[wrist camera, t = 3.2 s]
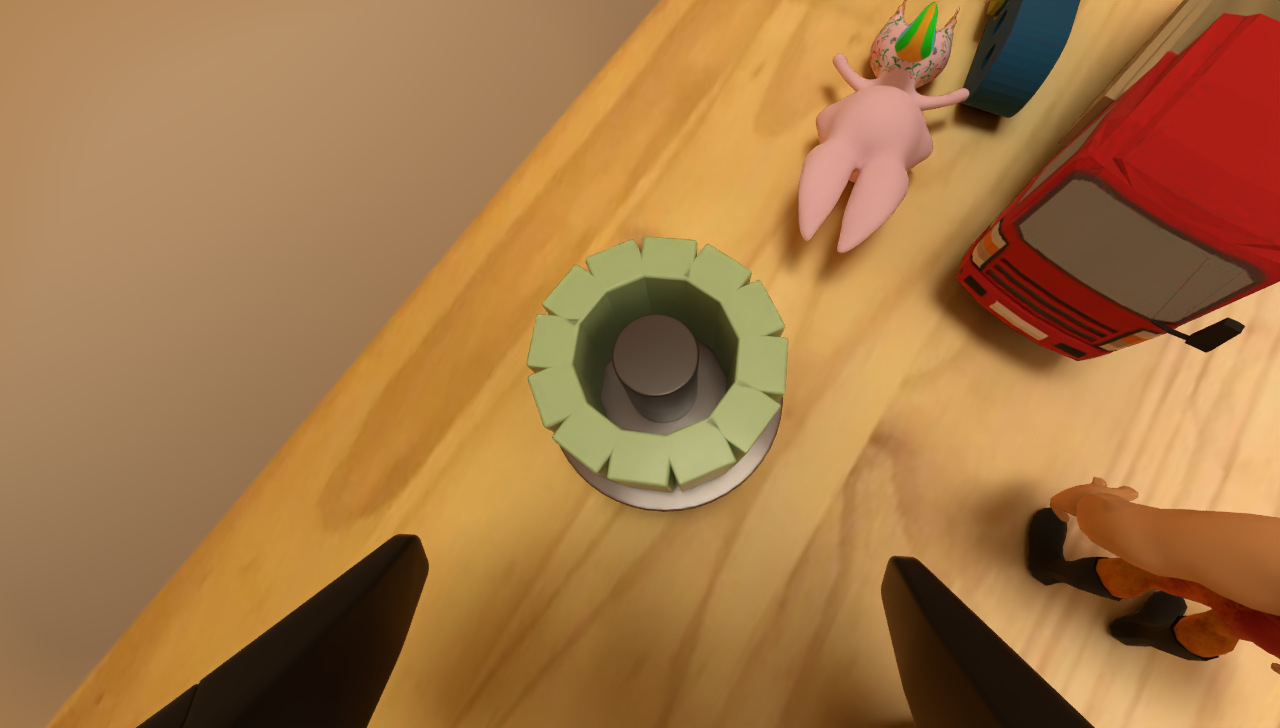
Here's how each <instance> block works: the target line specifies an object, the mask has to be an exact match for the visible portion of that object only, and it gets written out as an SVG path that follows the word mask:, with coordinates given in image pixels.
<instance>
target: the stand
mask: <svg viewBox="0 0 1280 728" xmlns="http://www.w3.org/2000/svg"><path fill="white" fill-rule="evenodd" d="M726 386H727V378H726V376H725V374H724V372H723V370H722V368H721V366H720V364H719V362H718V360H717V357H716V355H715V353H714V351H713V350H712V349H710V348H709V347H707V346H706V345H704V344H703V343H701V342H700V341H699V340H697V339H696V338H695V336H694V334H693V333H692V331H691V330H690V329H689V328H688V327H687V326H686V325H685V324H684V323H683V322H681V321H680V320H678V319H676V318H674V317H671V316H668V315H663V314H650V315H645V316H642V317H639V318H637V319H635V320H633V321H632V322H630V323H629V324H628V325H626V326H625V327H624V328H623V330H622V331H621V332H620V333H619V335H618V337H617V338H616V341H615V343H614V346H613V352H612V359H611V360H610V361H609V362H608V364H607V365H606V366H605V371H604V377H603V383H602V389H601V395H600V399H601V402H602V404H603V407H604V409H605V412H606V415H607V417H608V419H609V420H610V421H612V422H613V423H614V424H615V425H617V426H618V427H619V428H621V429H622V430H630V431H638V432H646V433H654V434H662V435H667V434H670V433H672V432H674V431H677V430H679V429H682V428H684V427H686V426H689V425H691V424H693V423H696V422H698V421H701V420H703V419H705V418H708V417H709V415H710V414H711V413H712V411H713V410H714V409H715V407H716V406H717V405H718V403H719V402H720V401H721V399H722V398H723V397H724V395H725V394H726ZM777 403H779V404H780V405H781V406H780V408H779V410H778V411H777V412H776V414H775V415H774V417H773V418H772V419H771V421H770V422H769V424H768V425H767V426H766V428H765V429H764V431H763V432H762V433H761V435H760V436H759V437H758V439H757V440H756V442H755V443H754V444H753V446H752V447H751V449H750V450H749V451H748V453H747V454H746V455H745V456H744V457H743V458H742V459H741V460H740V461H739V462H738V463H737V464H736V465H735V466H734V467H730V468H729V469H728V471H727V472H726V473H725V474H724V475H721V476H719V477H717V478H714V479H712V480H710V481H707V482H705V483H703V484H700V485H698V486H696V487H693V488H691V489H688V490H686V491H682V490H681V489H680V487H679V485H678V482H677V480H676V477H675V484H674V491H673V492H672V493H668V492H661V491H653V490H646V489H639V488H632V487H628V486H625V485H622V484H620V483H617V482H614V481H612V480H609V479H608V478H606V477H603V476H601V475H598V474H596V473H593V472H592V471H591V470H590V469H588V468H587V467H586V466H585V465H583V464H582V463H581V462H580V461H579V460H577V459H576V458H575V457H574V456H572V455H571V454H570V453H569V452H568V451H566V450H565V449H564V448H563V447H561V446H560V447H561V450H562V451H563V453H564V455H565V456H566V458H567V460H568V461H569V463H570V464H571V465H572V466H573V468H574V469H575V470H576V471H577V473H578V474H579V475H580V476H581V477H582V478H583V479H584V480H585V481H586V482H588V483H589V484H590V485H591V486H592V487H594V488H595V489H597V490H598V491H599V492H601V493H602V494H604V495H606V496H608V497H609V498H611V499H613V500H615V501H617V502H620V503H623V504H625V505H628V506H631V507H635V508H639V509H644V510H650V511H663V512H665V511H681V510H687V509H692V508H696V507H699V506H702V505H705V504H708V503H711V502H713V501H715V500H717V499H719V498H721V497H723V496H725V495H727V494H728V493H730V492H731V491H732V490H734V489H735V488H737V487H738V486H740V485H741V484H742V483H743V482H744V481H745V480H746V479H747V478H748V477H749V476H751V475H752V473H753V472H754V471H755V470H756V469H757V467H758V466H759V465H760V464H761V462H762V461H763V459H764V458H765V456H766V455H767V453H768V451H769V450H770V448H771V446H772V443H773V441H774V439H775V436H776V434H777V431H778V427H779V423H780V420H781V414H782V406H783V396H782V398H781V399H780V400H779V401H778V402H777Z"/></svg>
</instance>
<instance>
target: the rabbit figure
mask: <svg viewBox="0 0 1280 728" xmlns="http://www.w3.org/2000/svg"><path fill="white" fill-rule="evenodd" d="M906 1H907V0H904V2H903V4H902V5H901V6H899V7H898V10H897V11H896V13H895V14H894V15H893V16H892V17H891V18H890V20H889V22H888V23H887V24H886V25H885V26H884V28H883V29H882V30H881V31H880V33H879V34H878V35H877V37H876V38H875V40H874V42H873V44H872V47H871V51H870V64H871V67H872V70H873V72H874V74H875V76H876V79H873V80H868V79H865V78H863V77H861V76H859V75H858V74H857V73H856V72H855V71H853V70H852V69H851V67H850V66H849V64H848V62H847V59H846V57H845V56H844V55H843V54H841V53H838V54H836V55H835V56H834V58H833V64H834V66H835V67H836V69H837V70H838V72H839V73H840V74H841V76H842V77H843V78H844V80H845V81H846V82H847V83H848V84H849V85H850V86H851V87H852V88H853V89H854V90H855V91H856V92H855V93H853V94H851V95H849V96H847V97H845V98H844V99H842V100H840V101H838V102H836V103H834V104H832V105H830V106H828V107H826V108H825V109H823V110H822V111H821V112H820V113H819V114H818V116H817V118H816V126H817V130H818V136H819V141H820V145H818V146H817V147H815V148H814V149H813V150H811V151H810V152H809V154H808V155H807V157H806V159H805V161H804V163H803V167H802V172H801V177H800V181H799V191H798V213H799V227H800V232H801V235H802V237H803V238H804V240H807V241H808V240H810V239H811V238H812V236H813V235H814V234H815V232H816V231H817V229H818V228H819V227H820V225H821V224H822V223H823V222H824V220H825V219H826V218H827V217H828V216H829V214H830V213H831V211H832V210H833V208H834V207H835V205H836V203H837V202H838V200H839V198H840V196H841V194H842V192H843V190H844V188H845V186H846V184H847V182H848V180H849V181H852V182H855V185H854V187H853V190H852V192H851V195H850V198H849V200H848V203H847V206H846V209H845V212H844V216H843V220H842V226H841V232H840V237H839V241H838V245H837V251H838V252H839V253H844V252H847V251H849V250H851V249H853V248H854V247H856V246H857V245H859V244H860V243H861V242H863V241H864V240H865V239H866V238H867V237H869V236H870V235H871V234H872V233H873V232H874V231H876V230H877V229H878V228H879V227H880V226H881V225H882V224H883V223H884V222H885V221H886V220H887V219H888V218H889V217H890V216H891V215H892V214H893V213H894V211H895V210H896V208H897V207H898V205H899V204H900V203H901V202H902V200H903V199H904V197H905V195H906V193H907V190H908V186H909V179H908V175H907V172H906V171H908V170H910V169H911V168H913V167H914V166H915V165H917V164H918V163H920V162H922V161H923V160H925V159H926V158H928V157H929V155H930V154H931V152H932V149H933V143H932V139H931V135H930V133H929V130H928V128H927V125H926V122H925V119H924V116H923V114H922V110H929V109H936V108H941V107H945V106H949V105H952V104H956V103H959V102H962V101H964V100H966V99H967V98H968V96H969V91H968V90H967V89H965V88H961V89H958V90H955V91H954V92H952V93H949V94H946V95H941V96H923V95H920V94H919V93H917V92H916V90H915V89H916V88H918V87H920V86H922V85H925V84H927V83H929V82H930V81H932V80H933V79H934V78H936V77H937V76H938V75H939V74H940V73H941V72H942V71H943V69H944V68H945V66H946V65H947V62H948V60H949V57H950V52H951V46H952V39H953V28H954V26H955V24H956V22H957V20H956V15H957V13H958V12H959V9H960V6H959V8H958V9H957V10H956V12H955V15H954V16H953V17H952V18H951V19H950V21H949V22H948V23H947V24H946V25H945V27H944V28H942V29H941V30H939V31H936V22H937V15H938V7H937V4H936V2H933V3H931V4H929V5H928V6H927V7H926V8H925V9H924V10H923V11H922V12H921V13H920V14H919V16H918V17H917V18H916V19H915V20H914V21H913V22H912V23H911V24H910V25H909V24H907V23H905V20H904V17H903V15H904V9H905V3H906Z"/></svg>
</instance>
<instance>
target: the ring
mask: <svg viewBox="0 0 1280 728" xmlns="http://www.w3.org/2000/svg"><path fill="white" fill-rule="evenodd" d="M586 264H587V266H588V269H589V271H590V273H591V274H590V273H589V272H587V271H586V270H584V269H583V268H581V267H580V266H578V265H575V266H574V267H573V268H572V269H571V270H570V271H569V273H568V274H567V275H566V276H565V277H564V278H563V280H562V281H561V282H560V283H559V284H558V285H557V287H556V288H555V289H554V290H553V291H552V292H551V294H550V295H549V296H548V297H547V298H546V299H545V301H544V302H543V303H542V305H543V307H544V308H545V309H546V311H547V312H548V314H549V315H545V314H537V316H536V321H535V326H534V330H533V335H532V340H531V345H530V350H529V354H528V359H527V366H528V367H529V368H530V369H531V370H532V371H534V372H535V373H534V374H532V375H530V376H529V377H528V382H529V384H530V387H531V390H532V393H533V396H534V399H535V402H536V405H537V408H538V411H539V413H540V416H541V419H542V422H543V425H544V427H545V428H547V429H549V430H551V431H552V432H554V434H553V436H552V438H553V440H554V441H555V442H557V443H558V444H559V445H560V446H561V447H563V448H564V449H565V450H566V451H568V452H569V453H570V454H571V455H572V456H574V457H575V458H576V459H577V460H579V461H580V462H581V463H582V464H583V465H585V466H586V467H587V468H588V469H590V470H591V471H592V472H593V473H596V474H598V475H601V476H603V477H606V478H608V479H609V480H612V481H614V482H617V483H620V484H622V485H625V486H628V487H632V488H639V489H646V490H653V491H661V492H668V493H672V492H673V491H674V484H675V477H676V480H677V482H678V485H679V487H680V489H681V490H682V491H686V490H688V489H691V488H693V487H696V486H698V485H700V484H703V483H705V482H707V481H710V480H712V479H714V478H717V477H719V476H721V475H724V474H725V473H726V472H727V471H728V469H729V468H730V467H734V466H735V465H736V464H737V463H738V462H739V461H740V460H741V459H742V458H743V457H744V456H745V455H746V454H747V453H748V451H749V450H750V449H751V447H752V446H753V444H754V443H755V442H756V440H757V439H758V437H759V436H760V435H761V433H762V432H763V431H764V429H765V428H766V426H767V425H768V424H769V422H770V421H771V419H772V418H773V417H774V415H775V414H776V412H777V411H778V410H779V408H780V406H781V405H780V404H779V403H777V402H778V401H779V400H780V399H781V398H782V396H783V395H784V394H785V388H786V371H787V355H788V339H787V338H784V337H780V336H781V334H782V332H783V330H784V329H785V324H784V323H783V321H782V319H781V317H780V315H779V313H778V311H777V310H776V308H775V306H774V304H773V302H772V300H771V298H770V297H769V295H768V293H767V291H766V289H765V287H764V285H763V284H762V282H761V281H760V280H757V281H755V282H752V283H750V284H749V282H750V278H751V274H752V271H751V270H750V269H748V268H746V267H745V266H743V265H742V264H740V263H738V262H737V261H735V260H733V259H732V258H730V257H729V256H727V255H725V254H724V253H722V252H721V251H719V250H717V249H716V248H714V247H712V246H711V245H709V244H707V245H705V247H704V248H703V249H702V250H701V252H700V253H699V254H698V255H697V241H696V240H687V239H674V238H660V237H645V238H644V239H643V245H642V252H640V250H639V248H638V246H637V244H636V242H635V241H634V240H633V239H631V240H628V241H626V242H623V243H621V244H618V245H616V246H614V247H611V248H609V249H606V250H604V251H601V252H599V253H597V254H594V255H592V256H589V257H587V258H586ZM650 314H663V315H668V316H671V317H674V318H676V319H678V320H680V321H681V322H683V323H684V324H685V325H686V326H687V327H688V328H689V329H690V330H691V331H692V333H693V334H694V336H695V338H696V339H697V340H699V341H700V342H701V343H703V344H704V345H706V346H707V347H709V348H710V349H712V350H713V351H714V353H715V355H716V357H717V360H718V362H719V364H720V366H721V368H722V370H723V372H724V374H725V376H726V378H727V386H726V394H725V395H724V397H723V398H722V399H721V401H720V402H719V403H718V405H717V406H716V407H715V409H714V410H713V411H712V413H711V414H710V415H709V417H708V418H705V419H703V420H701V421H698V422H696V423H693V424H691V425H689V426H686V427H684V428H682V429H679V430H677V431H674V432H672V433H670V434H667V435H662V434H654V433H646V432H638V431H630V430H622V429H621V428H619V427H618V426H617V425H615V424H614V423H613V422H612V421H610V420H609V419H608V417H607V415H606V412H605V409H604V407H603V404H602V402H601V399H600V395H601V389H602V383H603V377H604V371H605V366H606V365H607V364H608V362H609V361H610V360H611V359H612V352H613V346H614V343H615V341H616V338H617V337H618V335H619V333H620V332H621V331H622V330H623V328H624V327H625V326H626V325H628V324H629V323H630V322H632V321H633V320H635V319H637V318H639V317H642V316H645V315H650Z"/></svg>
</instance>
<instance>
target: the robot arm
mask: <svg viewBox="0 0 1280 728" xmlns="http://www.w3.org/2000/svg"><path fill="white" fill-rule="evenodd" d="M428 570H429V563H428V559H427V557H426V554H425V551H424V548H423V546H422V543H421V540H420V538H419V537H418V536H417V535H410V534H398V535H395V536H393V537H392V538H390V539H389V540H388V541H386V542H385V543H384V544H382V545H381V546H380V547H378V548H377V549H376V550H374V551H373V552H372V553H370V554H369V555H368V556H366V557H365V558H364V559H362V560H361V561H360V562H358V563H357V564H356V565H354V566H353V567H352V568H350V569H349V570H348V571H346V572H345V573H344V574H342V575H341V576H340V577H338V578H337V579H336V580H334V581H333V582H332V583H330V584H329V585H328V586H326V587H325V588H324V589H322V590H321V591H320V592H318V593H317V594H316V595H314V596H313V597H312V598H310V599H309V600H307V601H306V602H305V603H303V604H302V605H301V606H299V607H298V608H297V609H295V610H294V611H293V612H291V613H290V614H289V615H287V616H286V617H285V618H283V619H282V620H281V621H279V622H278V623H277V624H275V625H274V626H273V627H271V628H270V629H269V630H267V631H266V632H265V633H263V634H262V635H261V636H259V637H258V638H257V639H255V640H254V641H253V642H251V643H250V644H249V645H247V646H246V647H245V648H243V649H242V650H241V651H239V652H238V653H237V654H235V655H234V656H233V657H231V658H230V659H229V660H227V661H226V662H224V663H223V664H222V665H220V666H219V667H218V668H216V669H215V670H214V671H212V672H211V673H210V674H208V675H207V676H206V677H204V678H203V679H202V680H201V681H200V683H199V684H195V685H193V686H192V687H191V688H189V689H188V690H187V691H185V692H184V693H183V694H181V695H180V696H179V697H177V698H176V699H175V700H173V701H172V702H171V703H169V704H168V705H167V706H165V707H164V708H162V709H161V710H160V711H158V712H157V713H156V714H154V715H153V716H151V717H150V718H149V719H147V720H146V721H145V722H143V723H142V724H140V725H139V726H138V727H136V728H367V726H368V724H369V721H370V719H371V717H372V715H373V713H374V710H375V708H376V706H377V704H378V702H379V699H380V697H381V695H382V693H383V691H384V688H385V686H386V684H387V682H388V680H389V677H390V675H391V673H392V671H393V669H394V666H395V664H396V662H397V659H398V657H399V655H400V652H401V650H402V647H403V645H404V642H405V639H406V636H407V633H408V630H409V628H410V625H411V622H412V619H413V616H414V613H415V610H416V607H417V604H418V601H419V598H420V596H421V593H422V590H423V587H424V584H425V581H426V578H427V575H428ZM881 596H882V601H883V605H884V610H885V614H886V618H887V623H888V627H889V631H890V635H891V640H892V644H893V648H894V652H895V657H896V661H897V665H898V670H899V674H900V678H901V682H902V685H903V689H904V692H905V695H906V698H907V702H908V705H909V708H910V710H911V713H912V716H913V719H914V722H915V725H916V728H1094V727H1093V726H1092V725H1091V724H1090V723H1089V722H1088V721H1087V720H1086V719H1085V718H1084V717H1083V716H1082V715H1081V714H1080V713H1079V712H1078V711H1077V710H1076V709H1075V708H1073V707H1072V706H1071V705H1070V704H1069V703H1068V702H1067V701H1066V700H1065V699H1064V698H1063V697H1062V696H1061V695H1060V694H1059V693H1058V692H1057V691H1056V690H1055V689H1054V688H1052V687H1051V686H1050V685H1049V684H1048V683H1047V682H1046V681H1045V680H1044V679H1043V678H1042V677H1041V676H1040V675H1039V674H1038V673H1037V672H1036V671H1035V670H1034V669H1033V668H1031V667H1030V666H1029V665H1028V664H1027V663H1026V662H1025V661H1024V660H1023V659H1022V658H1021V657H1020V656H1019V655H1018V654H1017V653H1016V652H1015V651H1014V650H1013V649H1012V648H1010V647H1009V646H1008V645H1007V644H1006V643H1005V642H1004V641H1003V640H1002V639H1001V638H1000V637H999V636H998V635H997V634H996V633H995V632H994V631H993V630H992V629H991V628H989V627H988V626H987V625H986V624H985V623H984V622H983V621H982V620H981V619H980V618H979V617H978V616H977V615H976V614H975V613H974V612H973V611H972V610H971V609H970V608H968V607H967V606H966V605H965V604H964V603H963V602H962V601H961V600H960V599H959V598H958V597H957V596H956V595H955V594H954V593H953V592H952V591H951V590H950V589H949V588H947V587H946V586H945V585H944V584H943V583H942V582H941V581H940V580H939V579H938V578H937V577H936V576H935V575H934V574H933V573H932V572H931V571H930V570H929V569H928V568H926V567H925V566H924V565H923V564H922V563H921V562H920V561H919V560H918V559H916V558H914V557H905V556H892V557H891V558H890V559H889V561H888V564H887V568H886V571H885V575H884V578H883V581H882V586H881Z"/></svg>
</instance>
